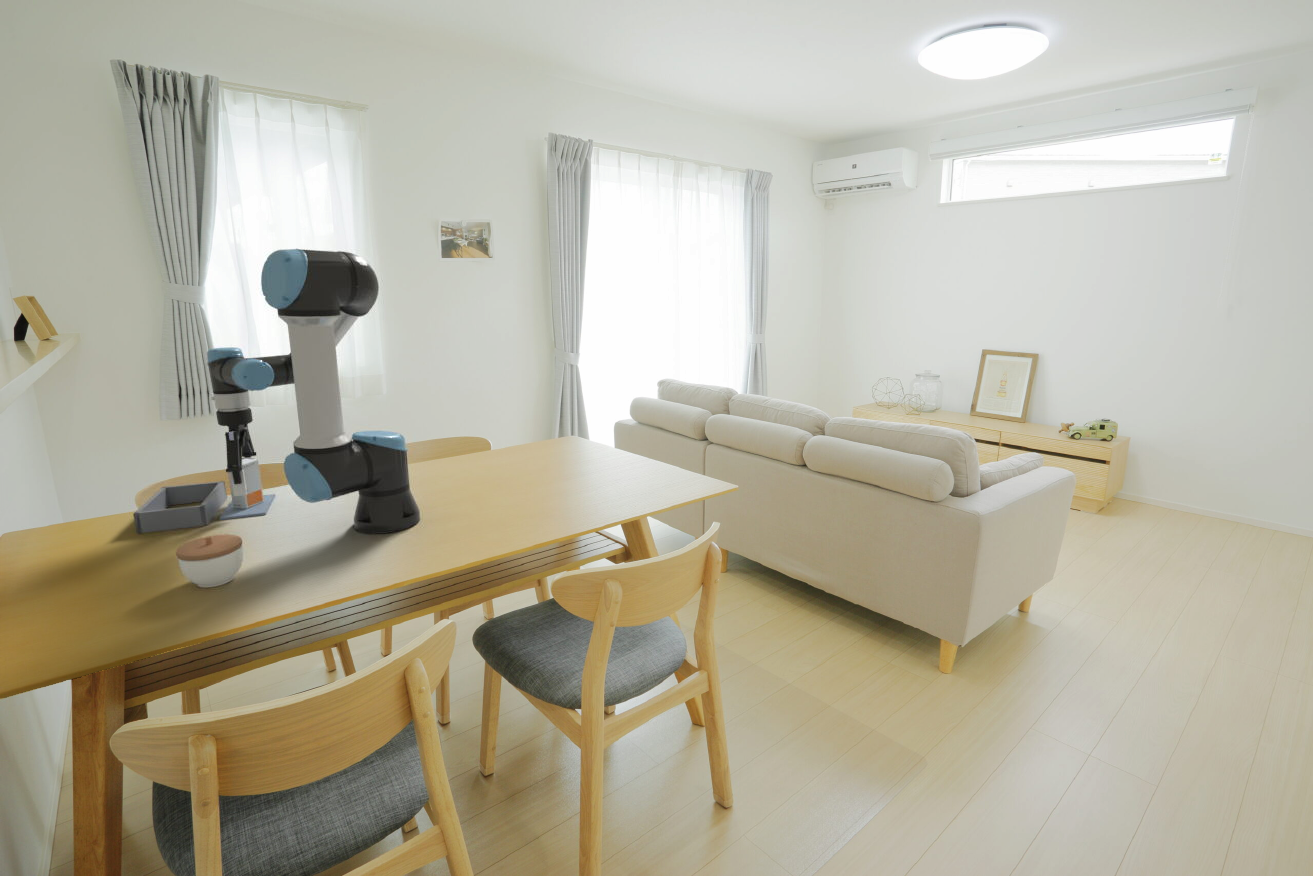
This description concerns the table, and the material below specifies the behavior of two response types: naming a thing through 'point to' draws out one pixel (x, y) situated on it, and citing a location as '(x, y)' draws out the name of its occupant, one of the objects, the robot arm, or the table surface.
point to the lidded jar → (211, 559)
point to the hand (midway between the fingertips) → (245, 487)
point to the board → (248, 509)
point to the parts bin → (160, 518)
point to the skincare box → (249, 485)
